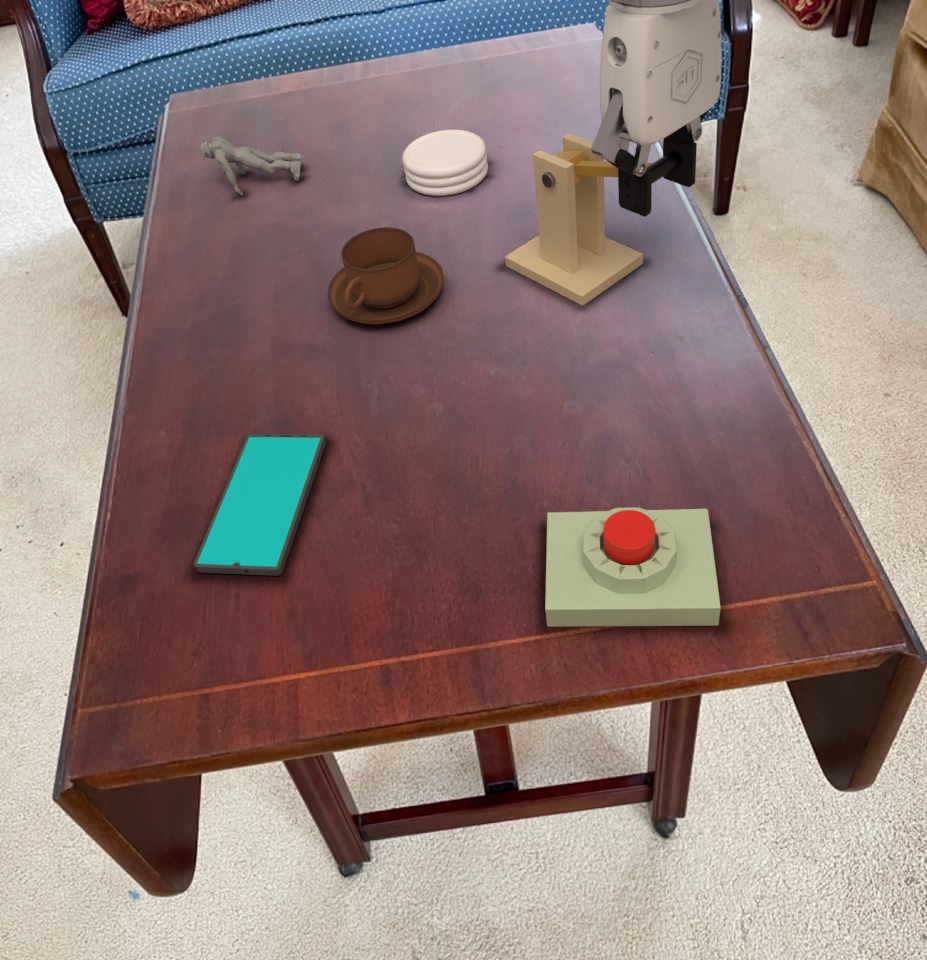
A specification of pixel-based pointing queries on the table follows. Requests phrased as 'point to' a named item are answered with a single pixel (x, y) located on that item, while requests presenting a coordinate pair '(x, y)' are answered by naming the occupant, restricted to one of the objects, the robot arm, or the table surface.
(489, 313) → the table surface
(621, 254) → the bracket
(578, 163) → the lever
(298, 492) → the smartphone
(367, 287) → the cup and saucer
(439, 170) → the coaster
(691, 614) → the button block
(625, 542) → the button
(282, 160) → the soldier figurine
